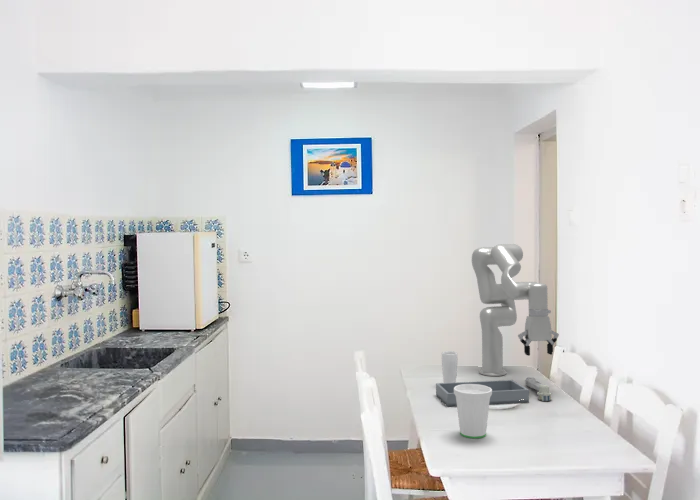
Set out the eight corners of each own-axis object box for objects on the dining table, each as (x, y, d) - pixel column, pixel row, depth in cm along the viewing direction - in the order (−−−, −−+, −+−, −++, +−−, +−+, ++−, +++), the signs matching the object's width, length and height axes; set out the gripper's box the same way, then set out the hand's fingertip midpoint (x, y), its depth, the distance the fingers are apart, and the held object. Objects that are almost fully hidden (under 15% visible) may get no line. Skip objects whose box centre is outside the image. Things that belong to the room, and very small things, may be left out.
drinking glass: (440, 388, 253) (440, 353, 253) (443, 384, 260) (443, 350, 259) (455, 389, 251) (455, 354, 250) (459, 385, 257) (458, 351, 257)
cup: (484, 443, 187) (484, 395, 187) (448, 436, 194) (447, 390, 193) (497, 431, 198) (497, 386, 197) (462, 425, 204) (461, 382, 204)
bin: (436, 395, 242) (435, 383, 242) (512, 391, 246) (512, 379, 246) (447, 406, 226) (447, 393, 226) (528, 402, 231) (528, 389, 230)
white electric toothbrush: (535, 376, 256) (552, 383, 231) (536, 392, 255) (553, 400, 231) (523, 376, 256) (539, 383, 232) (523, 392, 256) (540, 400, 231)
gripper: (553, 311, 247) (554, 352, 248) (514, 312, 245) (515, 353, 245) (562, 313, 240) (562, 355, 240) (521, 315, 238) (522, 357, 238)
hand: (538, 354), depth 243 cm, fingers open, 9 cm apart
